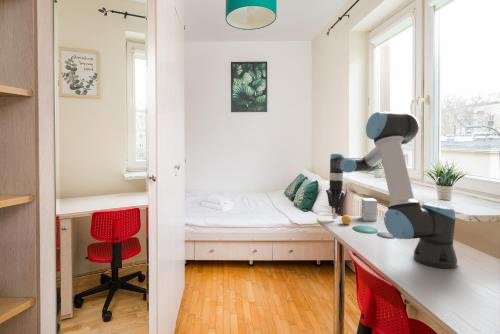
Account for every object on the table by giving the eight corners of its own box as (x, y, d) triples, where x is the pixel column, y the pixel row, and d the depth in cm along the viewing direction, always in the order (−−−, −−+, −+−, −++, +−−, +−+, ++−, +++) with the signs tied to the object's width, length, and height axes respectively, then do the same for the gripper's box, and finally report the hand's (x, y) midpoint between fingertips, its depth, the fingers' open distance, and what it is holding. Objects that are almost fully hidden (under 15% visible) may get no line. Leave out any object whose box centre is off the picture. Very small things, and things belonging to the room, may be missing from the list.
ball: (353, 224, 170) (353, 215, 169) (347, 226, 167) (347, 216, 166) (344, 222, 174) (345, 213, 174) (339, 223, 171) (339, 214, 170)
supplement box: (372, 217, 184) (373, 198, 183) (376, 221, 177) (377, 200, 175) (360, 217, 185) (361, 197, 184) (364, 220, 177) (364, 200, 176)
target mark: (382, 230, 160) (382, 229, 160) (369, 235, 152) (369, 234, 152) (361, 224, 170) (361, 224, 170) (347, 228, 162) (347, 228, 162)
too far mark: (399, 236, 150) (399, 235, 150) (390, 239, 145) (390, 239, 145) (382, 231, 158) (382, 231, 158) (373, 234, 152) (373, 234, 152)
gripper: (349, 180, 171) (348, 219, 174) (331, 177, 181) (329, 215, 184) (341, 181, 167) (340, 222, 169) (323, 178, 177) (322, 217, 179)
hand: (334, 218), depth 176 cm, fingers closed
